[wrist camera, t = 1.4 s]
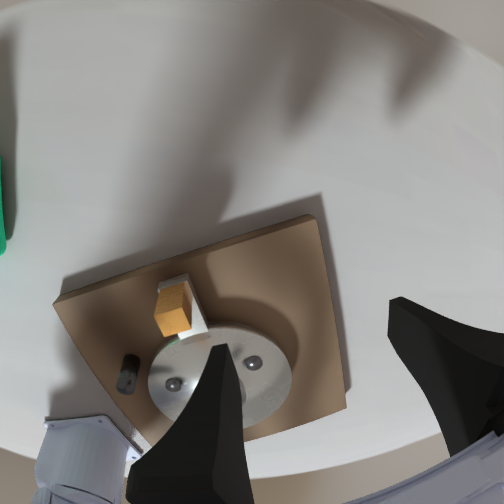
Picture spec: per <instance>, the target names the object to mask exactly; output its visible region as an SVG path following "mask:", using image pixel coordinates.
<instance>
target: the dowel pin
mask: <svg viewBox="0 0 504 504" xmlns="http://www.w3.org/2000/svg"><path fill="white" fill-rule="evenodd" d="M140 363H141V361H140V359H139V357H137V356H136V355H134V354H127V355H125V356H124V358H123V361H122V365H121V368H120V372H119V376H118V379H117V383H116V389H117V390H118V392H120V393H121V394H124V395H132V394H133V393H134V392H135V387H136V382H137V377H138V373H139V368H140Z"/></svg>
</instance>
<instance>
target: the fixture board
mask: <svg viewBox="0 0 504 504" xmlns="http://www.w3.org/2000/svg"><path fill="white" fill-rule="evenodd" d="M187 273H188V274H189V277H190V279H191V282H192V284H193V287H194V289H195V292H196V294H197V297H198V299H199V302H200V304H201V307H202V309H203V311H204V314H205V316H206V319H207V321H208V322H220V321H226V322H236V323H241V324H245V325H249V326H252V327H255V328H257V329H259V330H261V331H263V332H265V333H266V334H268V335H269V336H271V337H272V338H273V339H274V340H275V341H276V342H277V343H278V344H279V345H280V346H281V348H282V350H283V351H284V353H285V356H286V358H287V361H288V363H289V366H290V368H291V373H292V383H291V388H290V391H289V394H288V396H287V398H286V400H285V401H284V402H283V404H282V405H281V406H280V407H279V408H278V409H277V410H276V411H275V412H274V413H273V414H272V415H271V416H269V417H268V418H266V419H265V420H263V421H261V422H259V423H257V424H255V425H252V426H250V427H247V428H244V429H243V440H244V442H247V441H250V440H254V439H258V438H261V437H265V436H268V435H272V434H275V433H278V432H282V431H285V430H288V429H291V428H294V427H297V426H300V425H303V424H306V423H309V422H312V421H314V420H317V419H320V418H323V417H325V416H328V415H330V414H333V413H336V412H338V411H341V410H343V409H345V408H347V406H346V397H345V388H344V380H343V372H342V364H341V357H340V349H339V342H338V336H337V329H336V323H335V316H334V310H333V304H332V298H331V292H330V287H329V281H328V276H327V270H326V265H325V260H324V254H323V249H322V244H321V239H320V235H319V230H318V225H317V220H316V218H314V217H312V216H311V215H309V214H308V215H304V216H301V217H298V218H295V219H291V220H288V221H285V222H282V223H278V224H275V225H272V226H269V227H265V228H262V229H259V230H256V231H253V232H250V233H246V234H243V235H240V236H237V237H234V238H231V239H227V240H224V241H221V242H218V243H215V244H212V245H209V246H206V247H203V248H199V249H196V250H193V251H190V252H187V253H184V254H181V255H178V256H175V257H172V258H169V259H166V260H163V261H160V262H157V263H154V264H151V265H148V266H145V267H142V268H139V269H136V270H133V271H130V272H127V273H124V274H121V275H118V276H115V277H112V278H109V279H106V280H103V281H100V282H97V283H94V284H92V285H89V286H86V287H83V288H80V289H77V290H74V291H71V292H68V293H66V294H63V295H60V296H59V297H58V298H57V299H56V300H55V302H54V303H53V304H52V305H53V307H54V309H55V311H56V312H57V314H58V316H59V318H60V320H61V321H62V323H63V325H64V327H65V328H66V330H67V332H68V334H69V335H70V337H71V339H72V340H73V342H74V344H75V345H76V347H77V348H78V350H79V352H80V353H81V355H82V356H83V358H84V359H85V361H86V362H87V364H88V365H89V367H90V368H91V370H92V371H93V373H94V374H95V376H96V377H97V379H98V380H99V381H100V383H101V384H102V386H103V387H104V388H105V390H106V391H107V392H108V394H109V395H110V396H111V398H112V399H113V400H114V402H115V403H116V404H117V406H118V407H119V408H120V410H121V411H122V412H123V413H124V415H125V416H126V417H127V418H128V419H129V421H130V422H131V423H132V424H133V426H134V427H135V428H136V429H137V430H138V431H139V433H140V434H141V435H142V436H143V437H144V438H145V439H146V441H147V442H148V443H149V444H150V445H151V446H152V447H153V446H154V445H155V444H156V443H157V442H158V441H159V440H160V439H161V438H162V437H163V436H164V435H165V433H166V432H167V431H168V430H169V428H170V427H171V426H172V425H173V423H174V421H173V420H171V419H170V418H168V417H167V416H165V415H164V414H163V413H162V412H161V411H160V410H159V409H158V407H157V406H156V405H155V403H154V402H153V400H152V398H151V395H150V393H149V388H148V377H149V371H150V365H151V361H152V358H153V356H154V354H155V352H156V351H157V349H158V348H159V347H160V346H161V344H162V343H163V342H164V341H166V340H167V339H168V338H169V337H171V336H172V335H170V336H166V337H164V336H163V334H162V332H161V330H160V328H159V326H158V324H157V322H156V320H155V318H154V313H155V309H156V304H157V300H158V296H159V293H158V291H157V290H158V286H159V282H162V281H165V280H168V279H171V278H174V277H177V276H181V275H184V274H187ZM173 335H174V334H173ZM127 354H134V355H136V356H137V357H139V359H140V361H141V363H140V368H139V373H138V377H137V382H136V387H135V392H134V393H133V394H132V395H124V394H121V393H120V392H118V390H117V389H116V383H117V379H118V376H119V372H120V368H121V365H122V361H123V358H124V356H125V355H127Z"/></svg>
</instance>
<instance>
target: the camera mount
mask: <svg viewBox="0 0 504 504" xmlns="http://www.w3.org/2000/svg"><path fill="white" fill-rule="evenodd" d="M5 250H6V238H5V230H4V221H3V210H2V196H1V155H0V256H1V255H2V254H3V253H4V252H5Z"/></svg>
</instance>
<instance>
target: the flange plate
mask: <svg viewBox="0 0 504 504" xmlns="http://www.w3.org/2000/svg"><path fill="white" fill-rule="evenodd" d="M157 291H158V293H159V296H158V300H157V304H156V309H155V313H154V318H155V320H156V322H157V324H158V326H159V328H160V330H161V332H162V334H163V336H164V337H166V336H170V335H172V336H171V337H169V338H168V339H167V340H166V341H164V342H163V343H162V344H161V346H160V347H159V348H158V349H157V351H156V352H155V354H154V356H153V358H152V361H151V365H150V371H149V377H148V388H149V393H150V395H151V398H152V400H153V402H154V403H155V405H156V406H157V407H158V409H159V410H160V411H161V412H162V413H163V414H164V415H165V416H167V417H168V418H170V419H171V420H173V421H174V422H175V421H176V419H177V418H178V416H179V415H180V413H181V412H182V410H183V409H184V407H185V406H186V404H187V402H188V401H189V399H190V397H191V395H192V393H193V391H194V389H195V387H196V385H197V383H198V381H199V379H200V377H201V374H202V372H203V370H204V367H205V365H206V362H207V359H208V356H209V353H210V350H211V348H212V346H215V345H220V344H225V343H227V344H228V347H229V350H230V353H231V356H232V359H233V362H234V365H235V368H236V371H237V374H238V377H239V383H240V389H241V395H242V415H243V429H244V428H247V427H250V426H252V425H255V424H257V423H259V422H261V421H263V420H265V419H266V418H268V417H269V416H271V415H272V414H273V413H274V412H275V411H276V410H277V409H278V408H279V407H280V406H281V405H282V404H283V402H284V401H285V400H286V398H287V396H288V394H289V391H290V388H291V383H292V373H291V368H290V366H289V363H288V361H287V358H286V356H285V353H284V351H283V350H282V348H281V346H280V345H279V344H278V343H277V342H276V341H275V340H274V339H273V338H272V337H271V336H269V335H268V334H266V333H265V332H263V331H261V330H259V329H257V328H255V327H252V326H249V325H245V324H241V323H236V322H226V321H220V322H208V321H207V319H206V316H205V314H204V311H203V309H202V307H201V304H200V302H199V299H198V297H197V294H196V292H195V289H194V287H193V284H192V282H191V279H190V277H189V274H188V273H187V274H184V275H181V276H177V277H174V278H171V279H168V280H165V281H162V282H159V286H158V290H157ZM173 334H174V335H173Z"/></svg>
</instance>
